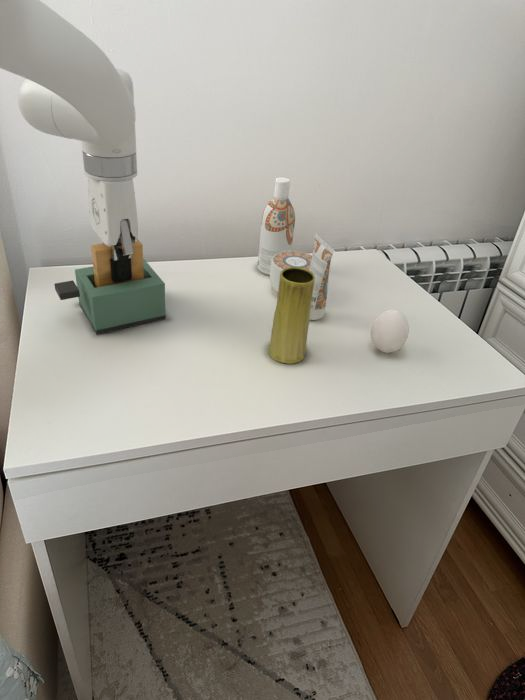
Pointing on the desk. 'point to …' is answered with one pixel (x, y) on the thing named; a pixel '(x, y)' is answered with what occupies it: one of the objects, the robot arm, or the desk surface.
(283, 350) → the vase
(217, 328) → the desk surface
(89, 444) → the desk surface
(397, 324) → the egg
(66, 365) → the desk surface
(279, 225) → the cosmetic set
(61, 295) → the dark grey slab
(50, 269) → the desk surface
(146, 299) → the toaster
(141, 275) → the golden wooden block
